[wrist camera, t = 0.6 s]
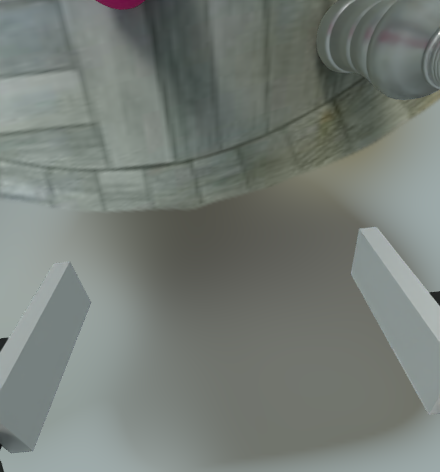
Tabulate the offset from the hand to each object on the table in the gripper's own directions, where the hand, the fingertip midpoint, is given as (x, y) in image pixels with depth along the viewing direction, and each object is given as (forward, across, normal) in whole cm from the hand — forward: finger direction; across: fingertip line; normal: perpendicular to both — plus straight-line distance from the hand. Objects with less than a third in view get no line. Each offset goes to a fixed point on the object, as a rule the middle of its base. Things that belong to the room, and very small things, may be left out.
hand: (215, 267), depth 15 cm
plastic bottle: (+27, +15, +6) cm, 31 cm away
